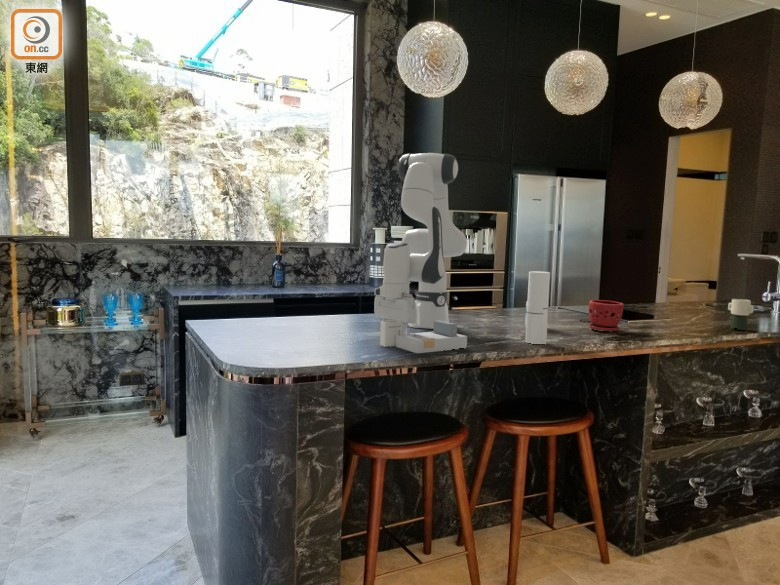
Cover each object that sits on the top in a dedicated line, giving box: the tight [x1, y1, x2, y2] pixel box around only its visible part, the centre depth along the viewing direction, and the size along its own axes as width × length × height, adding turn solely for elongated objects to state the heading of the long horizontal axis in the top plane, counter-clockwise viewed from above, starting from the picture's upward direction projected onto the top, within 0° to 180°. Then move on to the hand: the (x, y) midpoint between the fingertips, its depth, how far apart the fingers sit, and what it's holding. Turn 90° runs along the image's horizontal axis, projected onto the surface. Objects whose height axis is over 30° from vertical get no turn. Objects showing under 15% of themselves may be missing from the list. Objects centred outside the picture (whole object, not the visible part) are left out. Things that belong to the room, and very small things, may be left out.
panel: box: [379, 320, 408, 348], centre depth 199 cm, size 9×3×8 cm, turn 123°
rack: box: [395, 320, 468, 354], centre depth 196 cm, size 12×20×8 cm, turn 123°
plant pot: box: [588, 299, 624, 332], centre depth 242 cm, size 13×13×12 cm
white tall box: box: [524, 270, 551, 345], centre depth 209 cm, size 7×7×25 cm
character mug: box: [727, 298, 754, 330], centre depth 255 cm, size 11×7×13 cm, turn 27°
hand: (394, 333), depth 198 cm, fingers open, 7 cm apart
